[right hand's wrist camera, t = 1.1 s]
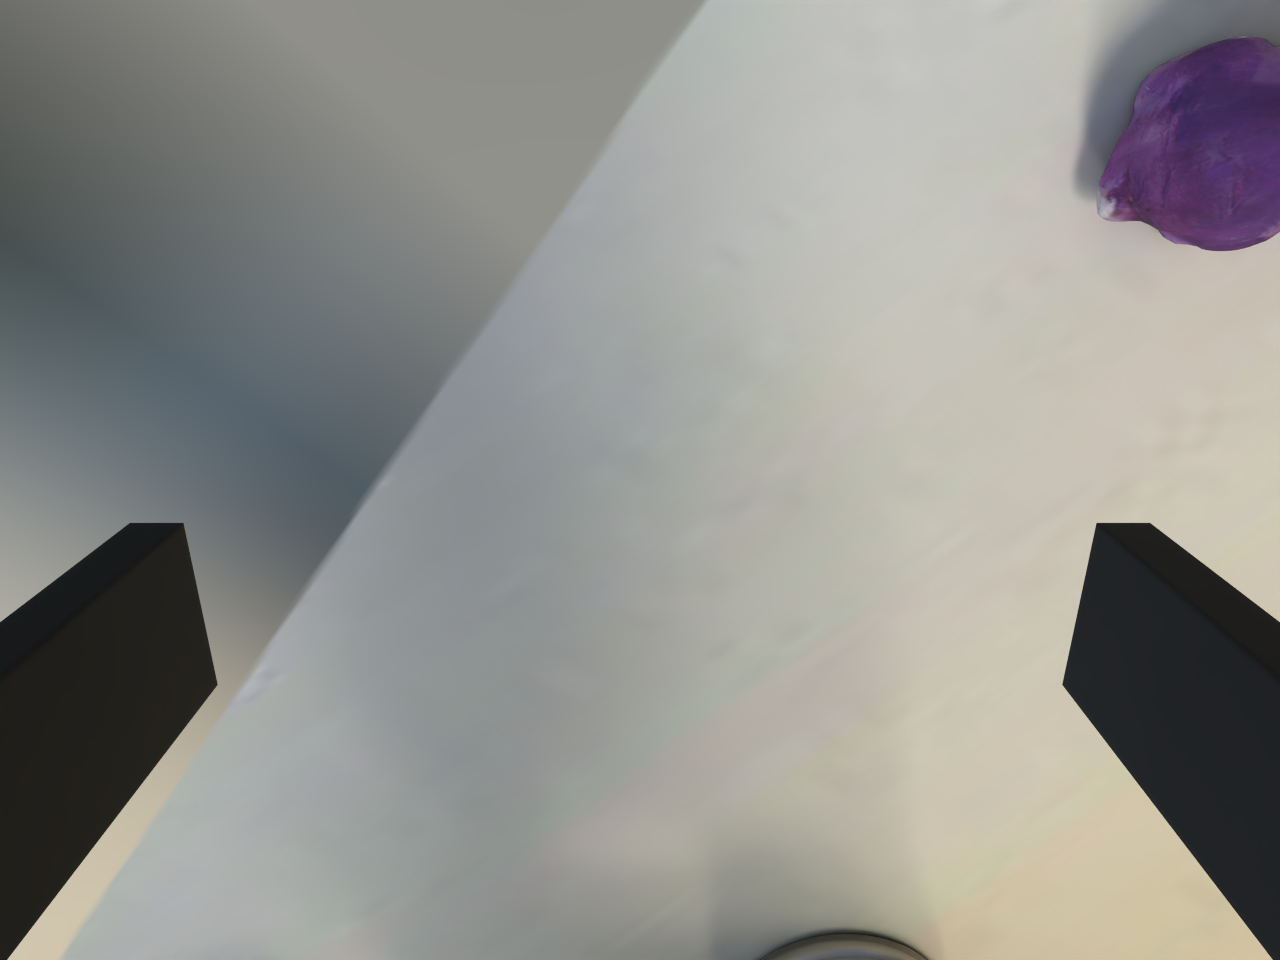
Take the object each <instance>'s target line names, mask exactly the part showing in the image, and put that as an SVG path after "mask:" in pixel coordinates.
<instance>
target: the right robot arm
mask: <svg viewBox="0 0 1280 960" xmlns="http://www.w3.org/2000/svg"><path fill="white" fill-rule="evenodd" d="M216 686H217V680H216V675H215V670H214V666H213V661H212V656H211V651H210V647H209V642H208V637H207V633H206V628H205V623H204V618H203V614H202V609H201V604H200V599H199V595H198V590H197V585H196V581H195V576H194V571H193V566H192V562H191V557H190V552H189V547H188V543H187V538H186V533H185V529H184V524H183V523H129V524H128V525H127V526H126V527H124V528H123V529H122V530H120V531H119V532H118V533H116V534H115V535H114V536H112V537H111V538H110V539H109V540H107V541H106V542H105V543H103V544H102V545H101V546H99V547H98V548H97V549H95V550H94V551H93V552H92V553H90V554H89V555H88V556H86V557H85V558H84V559H82V560H81V561H80V562H78V563H77V564H76V565H75V566H73V567H72V568H71V569H69V570H68V571H67V572H65V573H64V574H63V575H62V576H60V577H59V578H58V579H56V580H55V581H54V582H52V583H51V584H50V585H48V586H47V587H46V588H44V589H43V590H42V591H41V592H39V593H38V594H37V595H35V596H34V597H33V598H31V599H30V600H29V601H27V602H26V603H25V604H24V605H22V606H21V607H20V608H18V609H17V610H16V611H14V612H13V613H12V614H10V615H9V616H8V617H7V618H5V619H4V620H3V621H1V622H0V960H7V959H8V958H9V956H10V955H11V954H12V953H13V951H14V950H15V949H16V947H17V946H18V945H19V943H20V942H21V941H22V939H23V938H24V937H25V936H26V934H27V933H28V932H29V930H30V929H31V928H32V926H33V925H34V924H35V923H36V921H37V920H38V919H39V917H40V916H41V915H42V913H43V912H44V911H45V909H46V908H47V907H48V906H49V904H50V903H51V902H52V900H53V899H54V898H55V896H56V895H57V894H58V892H59V891H60V890H61V889H62V887H63V886H64V885H65V883H66V882H67V881H68V879H69V878H70V877H71V876H72V874H73V873H74V871H75V870H76V869H77V868H78V866H79V865H80V864H81V862H82V861H83V860H84V859H85V857H86V856H87V855H88V853H89V852H90V851H91V849H92V848H93V847H94V845H95V844H96V843H97V842H98V840H99V839H100V838H101V836H102V835H103V834H104V832H105V831H106V830H107V828H108V827H109V826H110V825H111V823H112V822H113V821H114V819H115V818H116V817H117V815H118V814H119V813H120V812H121V810H122V809H123V808H124V806H125V805H126V804H127V802H128V801H129V800H130V798H131V797H132V796H133V795H134V793H135V792H136V791H137V789H138V788H139V787H140V785H141V784H142V783H143V781H144V780H145V779H146V778H147V776H148V775H149V774H150V772H151V771H152V770H153V768H154V767H155V766H156V764H157V763H158V762H159V761H160V759H161V758H162V757H163V755H164V754H165V753H166V751H167V750H168V749H169V748H170V746H171V745H172V744H173V742H174V741H175V740H176V738H177V737H178V736H179V734H180V733H181V732H182V731H183V729H184V728H185V727H186V725H187V724H188V723H189V721H190V720H191V719H192V718H193V716H194V715H195V714H196V712H197V711H198V710H199V708H200V707H201V706H202V704H203V703H204V702H205V700H206V699H207V698H208V697H209V695H210V694H211V693H212V691H213V690H214V689H215V687H216ZM1063 686H1064V687H1065V689H1066V690H1067V691H1068V693H1069V694H1070V695H1071V697H1072V698H1073V699H1074V701H1075V702H1076V703H1077V704H1078V706H1079V707H1080V708H1081V710H1082V711H1083V712H1084V714H1085V715H1086V716H1087V718H1088V719H1089V720H1090V721H1091V723H1092V724H1093V725H1094V727H1095V728H1096V729H1097V731H1098V732H1099V733H1100V734H1101V736H1102V737H1103V738H1104V740H1105V741H1106V742H1107V744H1108V745H1109V746H1110V748H1111V749H1112V750H1113V751H1114V753H1115V754H1116V755H1117V757H1118V758H1119V759H1120V761H1121V762H1122V763H1123V765H1124V766H1125V767H1126V768H1127V770H1128V771H1129V772H1130V774H1131V775H1132V776H1133V778H1134V779H1135V780H1136V781H1137V783H1138V784H1139V785H1140V787H1141V788H1142V789H1143V791H1144V792H1145V793H1146V795H1147V796H1148V797H1149V798H1150V800H1151V801H1152V802H1153V804H1154V805H1155V806H1156V808H1157V809H1158V810H1159V812H1160V813H1161V814H1162V815H1163V817H1164V818H1165V819H1166V821H1167V822H1168V823H1169V825H1170V826H1171V827H1172V829H1173V830H1174V831H1175V832H1176V834H1177V835H1178V836H1179V838H1180V839H1181V840H1182V842H1183V843H1184V844H1185V845H1186V847H1187V848H1188V849H1189V851H1190V852H1191V853H1192V855H1193V856H1194V857H1195V859H1196V860H1197V861H1198V862H1199V864H1200V865H1201V866H1202V868H1203V869H1204V870H1205V872H1206V873H1207V874H1208V876H1209V877H1210V878H1211V879H1212V881H1213V882H1214V883H1215V885H1216V886H1217V887H1218V889H1219V890H1220V891H1221V892H1222V894H1223V895H1224V896H1225V898H1226V899H1227V900H1228V902H1229V903H1230V904H1231V906H1232V907H1233V908H1234V909H1235V911H1236V912H1237V913H1238V915H1239V916H1240V917H1241V919H1242V920H1243V921H1244V923H1245V924H1246V925H1247V926H1248V928H1249V929H1250V930H1251V932H1252V933H1253V934H1254V936H1255V937H1256V938H1257V939H1258V941H1259V942H1260V943H1261V945H1262V946H1263V947H1264V949H1265V950H1266V951H1267V953H1268V954H1269V955H1270V956H1271V958H1272V959H1273V960H1280V622H1279V621H1277V620H1276V619H1275V618H1273V617H1272V616H1271V615H1270V614H1268V613H1267V612H1266V611H1264V610H1263V609H1262V608H1260V607H1259V606H1258V605H1256V604H1255V603H1254V602H1253V601H1251V600H1250V599H1249V598H1247V597H1246V596H1245V595H1243V594H1242V593H1241V592H1239V591H1238V590H1237V589H1236V588H1234V587H1233V586H1232V585H1230V584H1229V583H1228V582H1226V581H1225V580H1224V579H1222V578H1221V577H1220V576H1219V575H1217V574H1216V573H1215V572H1213V571H1212V570H1211V569H1209V568H1208V567H1207V566H1205V565H1204V564H1203V563H1202V562H1200V561H1199V560H1198V559H1196V558H1195V557H1194V556H1192V555H1191V554H1190V553H1188V552H1187V551H1186V550H1185V549H1183V548H1182V547H1181V546H1179V545H1178V544H1177V543H1175V542H1174V541H1173V540H1171V539H1170V538H1169V537H1168V536H1166V535H1165V534H1164V533H1162V532H1161V531H1160V530H1158V529H1157V528H1156V527H1154V526H1153V525H1152V524H1151V523H1097V524H1096V529H1095V533H1094V538H1093V543H1092V547H1091V552H1090V557H1089V562H1088V566H1087V571H1086V576H1085V581H1084V585H1083V590H1082V595H1081V599H1080V604H1079V609H1078V614H1077V618H1076V623H1075V628H1074V633H1073V637H1072V642H1071V647H1070V651H1069V656H1068V661H1067V666H1066V670H1065V675H1064V680H1063ZM760 960H926V959H925V958H923V957H922V956H921V955H919V954H918V953H916V952H915V951H913V950H911V949H910V948H907V947H905V946H903V945H901V944H899V943H896V942H893V941H890V940H887V939H883V938H879V937H874V936H869V935H860V934H832V935H823V936H817V937H812V938H808V939H804V940H800V941H797V942H794V943H791V944H789V945H786V946H784V947H781V948H779V949H777V950H775V951H773V952H771V953H770V954H768V955H766V956H765V957H763V958H762V959H760Z"/></svg>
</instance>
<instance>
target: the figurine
mask: <svg viewBox="0 0 1280 960" xmlns="http://www.w3.org/2000/svg"><path fill="white" fill-rule="evenodd" d="M1097 210H1098V214H1099V216H1100V217H1101V218H1102V219H1104V220H1107V221H1119V222H1122V221H1142V222H1144V223H1147V224H1149V225H1151V226H1153V227H1155V228H1156V229H1158V230H1159V232H1160V233H1161V235H1162V236H1163V237H1164V238H1166V239H1168V240H1170V241H1171V242H1173V243H1175V244H1188V245H1193V246H1197V247H1199V248H1201V249H1205V250H1211V251H1232V250H1239V249H1243V248H1247V247H1250V246H1253V245H1255V244H1258V243H1261V242H1264V241H1266V240H1268V239H1270V238H1271V237H1273V236H1274V235H1276V234H1277V233H1279V232H1280V46H1276V47H1274V46H1273V45H1272V44H1271V43H1269V42H1268V41H1267V40H1266V39H1263V38H1253V37H1249V36H1240V37H1236V38H1232V39H1227V40H1223V41H1220V42H1217V43H1214V44H1210V45H1207V46H1205V47H1203V48H1200V49H1197V50H1194V51H1191V52H1188V53H1185V54H1184V55H1181V56H1178V57H1176V58H1173V59H1171V60H1169V61H1168V62H1166V63H1164V64H1162V65H1160V66H1158V67H1157V68H1155V69H1154V70H1153V71H1152V72H1151V73H1150V74H1149V75H1148V76H1147V77H1146V79H1145V80H1144V81H1143V82H1142V84H1141V86H1140V88H1139V91H1138V93H1137V96H1136V99H1135V102H1134V113H1133V116H1132V118H1131V121H1130V123H1129V126H1128V128H1127V129H1126V130H1125V132H1124V133H1123V135H1122V136H1121V138H1120V139H1119V141H1118V142H1117V144H1116V147H1115V149H1114V151H1113V153H1112V156H1111V158H1110V160H1109V162H1108V164H1107V166H1106V168H1105V171H1104V173H1103V175H1102V177H1101V179H1100V182H1099V185H1098V191H1097Z"/></svg>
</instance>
